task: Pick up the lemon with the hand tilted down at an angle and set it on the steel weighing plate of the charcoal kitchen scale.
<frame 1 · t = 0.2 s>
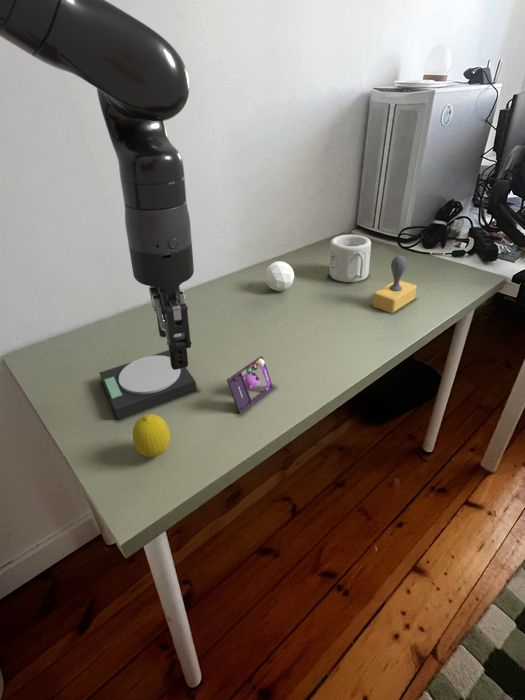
hand: (173, 350, 61), 18 cm above the table, tool pointing down, fingers open, 8 cm apart
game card: (248, 396, 80), on the table
mug: (350, 277, 121), on the table
geometric ball: (279, 289, 117), on the table
lemon: (156, 454, 69), on the table
rubber stamp: (393, 303, 107), on the table
scale: (148, 386, 84), on the table
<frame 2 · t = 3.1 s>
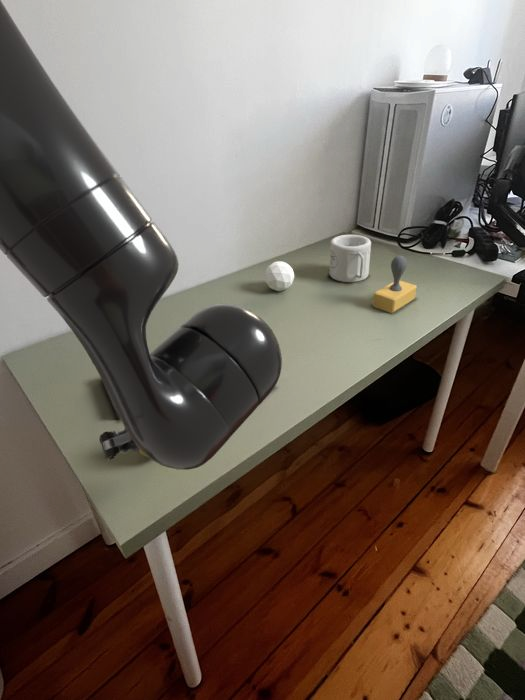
hand: (158, 430, 57), 12 cm above the table, tool tilted 45°, fingers open, 8 cm apart
nothing on the table moved.
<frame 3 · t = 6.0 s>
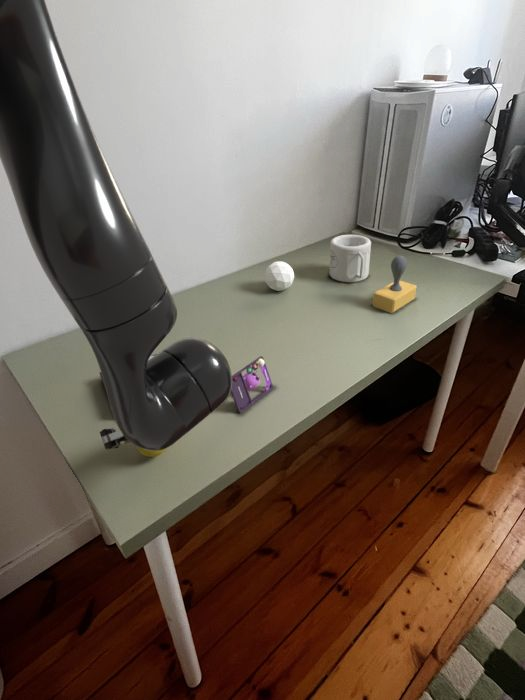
hand: (148, 428, 68), 4 cm above the table, tool tilted 45°, fingers closed on lemon, 5 cm apart
lemon: (156, 454, 69), on the table, touching gripper
everything else where it was.
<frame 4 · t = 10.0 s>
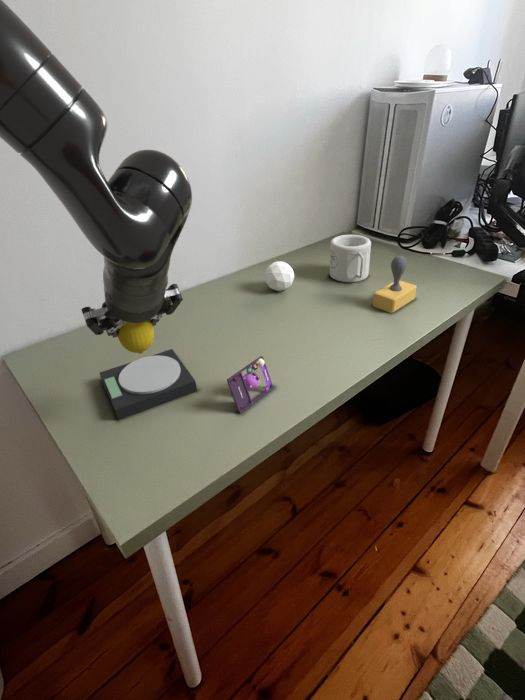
hand: (132, 326, 69), 17 cm above the table, tool tilted 45°, fingers closed on lemon, 5 cm apart
lemon: (141, 354, 71), point 13 cm above the table, touching gripper
everything else where it was.
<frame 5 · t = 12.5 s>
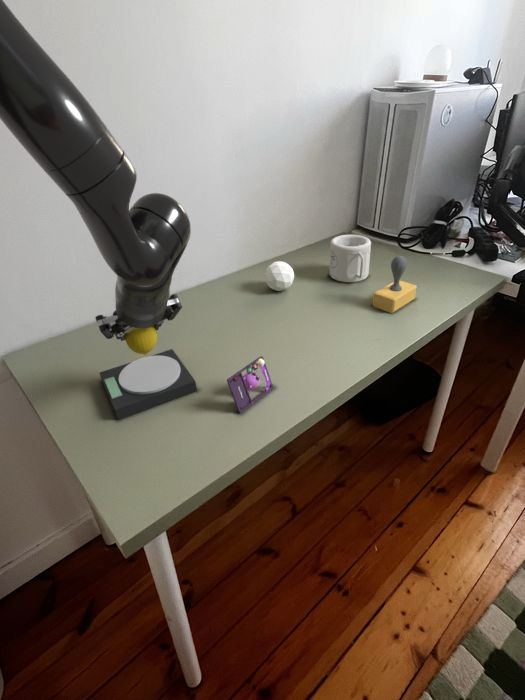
hand: (137, 330, 79), 12 cm above the table, tool tilted 45°, fingers closed on lemon, 5 cm apart
lemon: (145, 355, 80), point 7 cm above the table, touching gripper
everything else where it was.
when the fingers open (7 cm above the table, at t = 14.2 s): lemon stays where it is, resting on scale.
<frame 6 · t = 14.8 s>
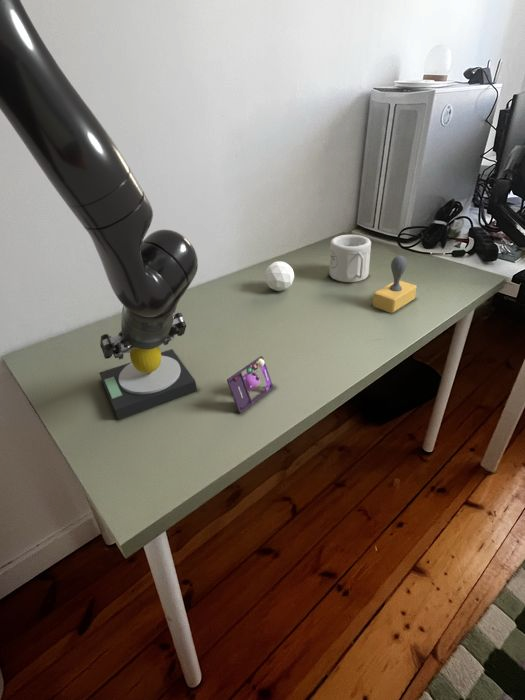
hand: (141, 346, 81), 8 cm above the table, tool tilted 45°, fingers open, 8 cm apart
lemon: (150, 373, 83), point 3 cm above the table, touching scale
everything else where it was.
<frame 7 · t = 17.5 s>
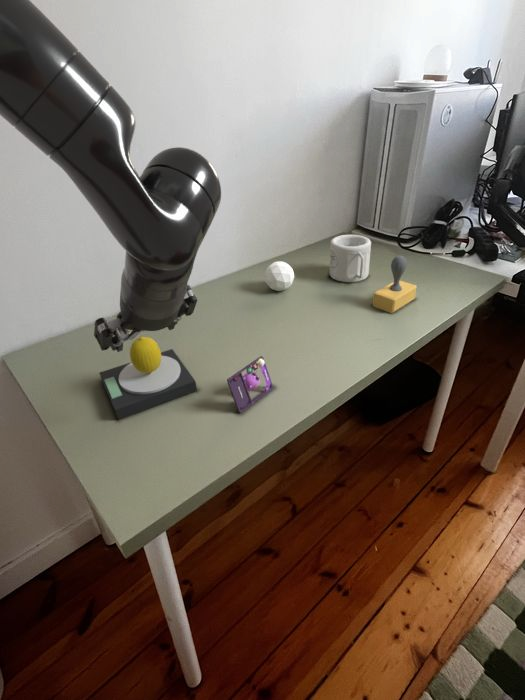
hand: (143, 334, 67), 17 cm above the table, tool tilted 45°, fingers open, 8 cm apart
nothing on the table moved.
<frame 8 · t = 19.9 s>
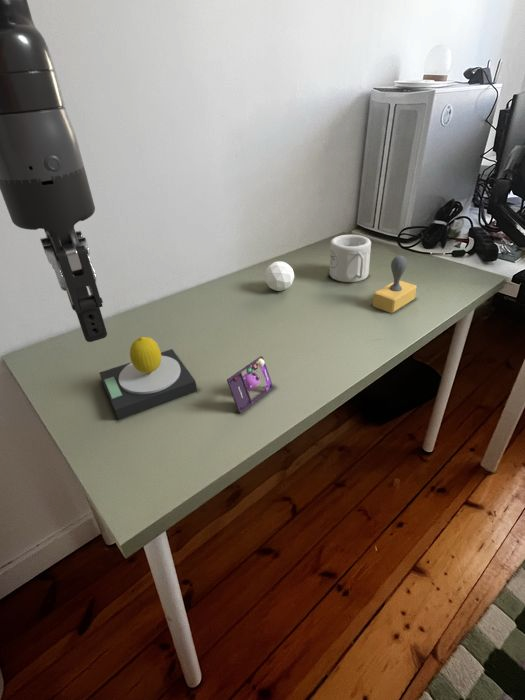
hand: (89, 321, 48), 28 cm above the table, tool pointing down, fingers open, 8 cm apart
nothing on the table moved.
at the end: lemon inside the target area on the scale (0.3 cm from its centre), point 2.8 cm above the scale's base; the gripper is holding nothing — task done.
